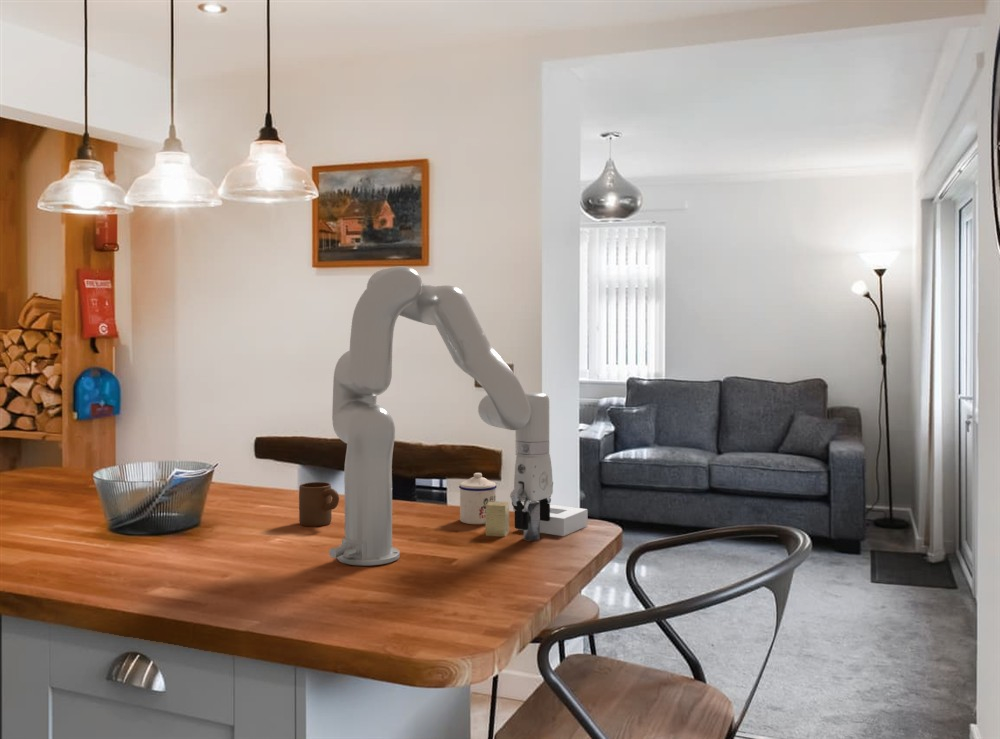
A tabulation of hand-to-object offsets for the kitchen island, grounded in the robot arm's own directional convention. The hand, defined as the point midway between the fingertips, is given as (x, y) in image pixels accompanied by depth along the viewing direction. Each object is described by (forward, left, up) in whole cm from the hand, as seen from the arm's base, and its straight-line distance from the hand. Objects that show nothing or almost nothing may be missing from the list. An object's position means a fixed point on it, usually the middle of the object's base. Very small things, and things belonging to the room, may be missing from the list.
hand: (532, 524), depth 193 cm
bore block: (+12, +1, -3) cm, 12 cm away
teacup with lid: (+10, +20, -3) cm, 23 cm away
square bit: (0, +9, -3) cm, 10 cm away
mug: (-15, +49, -3) cm, 51 cm away
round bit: (0, 0, -3) cm, 3 cm away
